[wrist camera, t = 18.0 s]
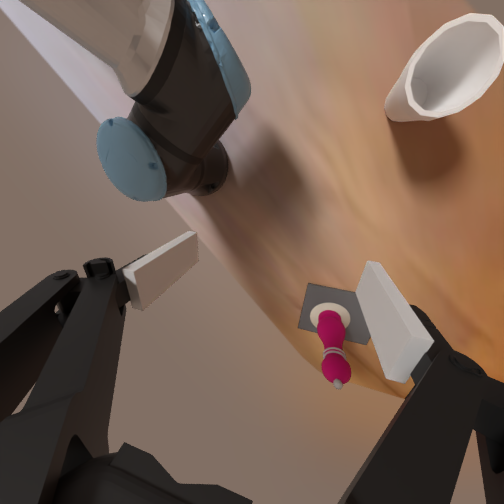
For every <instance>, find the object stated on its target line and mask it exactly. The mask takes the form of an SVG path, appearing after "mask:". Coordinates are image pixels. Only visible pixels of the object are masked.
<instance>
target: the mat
mask: <svg viewBox="0 0 504 504" xmlns="http://www.w3.org/2000/svg"><path fill="white" fill-rule="evenodd" d="M325 310H332V311H335V312H337V313H338V314H339V315H340V316H341V320H342V323H343V324H344V326H345V331H346V335H345V339H344V340H347V341H351V342H355V343H359V344H363V345H367V343H368V340H369V338H370V336H371V335H370V332H369V329H368V327H367V324H366V321H365V318H364V315H363V312H362V310H361V307H360V304H359V301H358V298H357V295H356V293H355V292H351V291H346V290H341V289H336V288H331V287H326V286H321V285H316V284H311V283H308V286H307V291H306V295H305V299H304V303H303V308H302V312H301V316H300V321H299V325H298V328H299V329H303V330H307V331H311V332H315V333H318V332H317V324H318V323H319V322H318V316H319V314H320V313H321V312H323V311H325Z"/></svg>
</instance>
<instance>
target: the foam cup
mask: <svg viewBox="0 0 504 504" xmlns="http://www.w3.org/2000/svg"><path fill="white" fill-rule="evenodd" d="M503 62H504V26H503V25H502V24H501V23H500V22H499V21H498V20H497V19H496V18H495V17H494V16H493V15H488V14H475V13H469V14H467V15H464V16H462V17H459V18H457V19H455V20H452V21H450V22H447V23H445V24H444V25H443V26H442V27H441V28H439V29H438V30H437V31H436V32H435V33H434V34H433V35H432V36H430V37H429V38H428V39H427V40H426V41H425V42H424V43H423V44H422V45H421V46H420V47H419V48H418V49H417V50H416V51H415V52H414V54H413V55H412V57H411V58H410V60H409V62H408V63H407V65H406V67H405V68H404V70H403V71H402V74H401V76H400V77H399V79H398V80H397V82H396V83H395V85H394V86H393V88H392V89H391V91H390V93H389V94H388V96H387V98H386V101H385V106H384V109H385V113H386V116H387V117H388V118H389V119H391V120H392V121H397V122H407V121H418V120H423V121H431V120H434V119H438V118H441V117H445V116H448V115H451V114H454V113H457V112H460V111H461V110H463V109H464V108H465V107H467V106H468V105H470V104H471V103H473V102H474V101H476V100H477V99H479V98H480V97H481V96H482V95H483V94H484V92H485V91H486V90H487V89H488V88H489V86H490V85H491V84H492V83H493V81H494V80H495V79H496V78H497V77H498V75H499V73H500V70H501V67H502V65H503Z"/></svg>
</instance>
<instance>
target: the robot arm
mask: <svg viewBox="0 0 504 504" xmlns="http://www.w3.org/2000/svg"><path fill="white" fill-rule="evenodd" d="M19 1H20V2H22V3H23V4H24V5H26V6H27V7H29V8H30V9H31V10H33V11H34V12H35V13H37V14H38V15H40V16H41V17H42V18H44V19H45V20H46V21H48V22H49V23H51V24H52V25H53V26H55V27H56V28H57V29H59V30H60V31H62V32H63V33H64V34H66V35H67V36H68V37H70V38H71V39H73V40H74V41H75V42H77V43H78V44H80V45H81V46H82V47H84V48H85V49H86V50H88V51H89V52H91V53H92V54H93V55H95V56H96V57H97V58H99V59H100V60H102V61H103V62H104V63H106V64H107V65H108V66H110V67H111V68H112V69H113V70H114V72H115V73H116V75H117V78H118V80H119V82H120V84H121V86H122V89H123V91H124V93H125V94H126V95H128V96H129V97H130V98H132V99H133V100H135V103H134V106H133V108H132V110H131V112H130V114H129V116H128V118H127V119H126V118H123V117H115V118H113V119H107V120H106V121H104V122H103V123H102V124H101V126H100V128H99V130H98V133H97V151H98V155H99V159H100V161H101V163H102V166H103V169H104V171H105V173H106V175H107V176H108V178H109V179H110V181H111V182H112V183H113V185H114V186H115V187H116V188H117V189H118V190H119V191H120V192H122V193H123V194H124V195H126V196H127V197H129V198H131V199H133V200H137V201H143V202H145V201H157V200H160V199H162V198H166V197H170V196H174V195H178V194H182V193H189V194H192V195H197V196H204V195H208V194H211V193H213V192H215V191H217V190H218V189H219V188H220V187H221V186H222V184H223V183H224V181H225V179H226V176H227V171H228V160H227V155H226V152H225V149H224V147H223V145H222V144H221V142H220V141H219V139H220V138H221V136H222V135H223V134H224V132H225V131H226V130H227V128H228V127H229V126H230V124H231V123H232V122H233V120H234V119H235V120H236V119H237V118H238V114H239V113H240V111H241V110H242V108H243V107H244V105H245V104H246V103H247V101H248V100H249V97H250V95H251V84H250V80H249V77H248V75H247V73H246V71H245V69H244V67H243V65H242V63H241V61H240V59H239V57H238V56H237V54H236V52H235V50H234V48H233V47H232V45H231V43H230V41H229V40H228V38H227V36H226V35H225V33H224V31H223V30H222V28H221V27H220V26H219V25H218V22H217V21H216V19H215V18H214V16H213V14H212V12H211V10H210V9H209V7H208V6H207V4H206V3H205V1H204V0H19ZM198 257H199V256H198V241H197V232H192V231H188V232H186V233H184V234H183V235H181V236H179V237H177V238H175V239H174V240H172V241H170V242H168V243H167V244H165V245H163V246H162V247H160V248H158V249H156V250H154V251H153V252H151V253H149V254H146V255H143V256H141V257H140V258H138V259H137V260H134V261H133V262H132V263H129V264H127V265H125V266H124V267H122V268H120V269H118V270H116V271H115V267H114V264H113V260H112V259H110V258H97V259H93V260H90V261H88V262H86V263H85V264H84V265H83V267H84V270H85V272H86V275H87V278H79V276H78V274H77V271H75V270H61V271H57V272H56V273H53V274H51V275H49V276H47V277H46V278H45V279H44V280H42V281H41V282H39V283H38V284H37V285H35V286H34V287H33V288H32V289H30V290H29V291H27V292H26V293H25V294H24V295H22V296H21V297H20V298H18V299H17V300H16V301H14V302H13V303H12V304H10V305H9V306H8V307H6V308H5V309H4V310H2V311H1V312H0V504H252V502H253V501H252V500H249V499H247V498H245V497H243V496H241V495H239V494H237V493H234V492H232V491H230V490H227V489H226V488H223V487H221V486H219V485H208V484H207V485H206V484H180V483H177V482H176V481H175V480H174V479H173V478H172V477H171V476H170V474H169V473H168V472H167V471H166V470H165V469H164V468H163V467H162V465H161V464H160V463H159V462H158V461H157V460H156V459H155V458H154V456H153V455H151V454H149V453H147V452H145V451H142V450H140V449H138V448H136V447H134V446H131V445H129V444H127V443H125V442H124V444H123V445H122V446H121V448H120V449H119V451H118V452H116V453H109V447H108V437H107V436H108V426H109V419H110V413H111V406H112V400H113V393H114V387H115V380H116V374H117V367H118V360H119V354H120V346H121V341H122V334H123V327H124V321H125V315H126V306H125V304H126V303H127V302H128V301H131V305H132V308H134V309H138V310H141V311H144V309H145V308H147V307H148V306H149V305H150V304H151V303H152V302H153V301H155V300H156V299H157V298H158V297H159V296H160V295H161V294H163V293H164V292H165V291H166V290H167V289H168V288H169V287H170V286H172V285H173V284H174V283H175V282H176V281H177V280H178V279H179V278H180V277H181V276H183V275H184V274H185V273H186V272H187V271H188V270H189V269H190V268H192V267H193V266H194V265H195V264H196V263H197V262H198V261H199V258H198ZM355 293H356V295H357V298H358V301H359V304H360V307H361V310H362V312H363V315H364V318H365V321H366V324H367V327H368V329H369V332H370V335H371V338H372V341H373V343H374V346H375V349H376V352H377V355H378V358H379V360H380V363H381V366H382V369H383V372H384V375H385V377H386V379H389V380H393V381H397V382H400V383H404V384H405V383H406V381H407V380H408V378H409V377H410V376H411V377H412V379H413V381H414V383H415V386H414V387H413V388H412V390H411V391H410V392H409V394H408V395H407V397H406V398H405V401H404V402H403V404H402V405H401V407H400V408H399V410H398V411H397V413H396V415H395V416H394V418H393V419H392V421H391V422H390V424H389V425H388V427H387V428H386V430H385V431H384V433H383V434H382V436H381V437H380V439H379V441H378V442H377V444H376V445H375V447H374V448H373V450H372V451H371V453H370V454H369V456H368V458H367V459H366V461H365V462H364V464H363V465H362V467H361V468H360V470H359V471H358V473H357V475H356V476H355V478H354V479H353V481H352V482H351V484H350V485H349V487H348V488H347V490H346V491H345V493H344V494H343V496H342V497H341V499H340V501H339V502H338V504H450V502H451V498H452V495H453V492H454V489H455V485H456V482H457V479H458V476H459V472H460V469H461V465H462V462H463V459H464V456H465V452H466V449H467V446H468V443H469V439H470V436H471V433H472V429H474V430H475V431H476V437H477V443H478V450H479V457H480V464H481V470H482V477H483V484H484V490H485V497H486V504H504V383H502V382H500V381H497V380H495V379H493V378H491V377H488V376H487V374H486V373H485V371H484V370H483V369H482V368H481V367H480V366H479V365H478V364H477V363H476V362H475V361H473V360H472V359H470V358H469V357H467V356H466V355H464V354H461V353H459V352H457V351H454V350H453V349H452V347H451V346H450V345H449V344H448V342H447V341H446V340H445V338H444V337H443V336H442V334H441V333H440V332H439V330H438V329H436V327H435V325H434V324H433V323H432V322H431V320H430V319H429V317H428V316H427V315H426V314H425V313H424V312H423V311H422V310H421V309H419V308H418V307H417V306H414V305H410V304H408V303H407V301H406V300H405V298H404V297H403V296H402V294H401V293H400V291H399V290H398V288H397V287H396V286H395V284H394V283H393V281H392V280H391V278H390V277H389V275H388V274H387V273H386V271H385V270H384V268H383V267H382V265H381V264H380V263H379V262H373V261H367V263H366V265H365V268H364V271H363V273H362V276H361V279H360V282H359V284H358V287H357V290H356V292H355ZM56 305H57V306H58V309H59V310H58V311H57V312H56V313H55V312H54V310H55V306H56ZM36 381H37V382H36ZM35 383H36V384H35ZM34 384H35V386H34V388H33V390H32V392H31V394H30V396H29V398H28V400H27V402H26V404H25V406H24V407H23V409H22V410H21V411H20V412H19V413H16V414H13V415H11V414H12V413H13V412H14V410H15V409H16V408H17V406H18V405H19V403H20V402H21V401H22V400H23V398H24V397H25V396H26V394H27V393H28V392H29V390H30V389H31V388H32V387H33V385H34Z"/></svg>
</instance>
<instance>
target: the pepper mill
mask: <svg viewBox="0 0 504 504" xmlns="http://www.w3.org/2000/svg"><path fill="white" fill-rule="evenodd" d="M318 322H319V323H318V324H317V332H318V335H319V337H320V339H321V340H322V342H323V344H324V348H325V350H324V352H323V359H324V360H323V361H322V372H323V374H324V376H325V378H326V379H327V380H329V381H330V382H332V383H333V385H334V387H335V388H336V389H341V388H342V386H343V384H345V383H347V382H348V381H349V380H350V377H351V368H350V365H349V363H348V362H347V359H346V354H345V353H344V351H343V349H342V344H343V341H344V339H345V335H346V331H345V326H344V324H343V323H342V320H341V316H340V315H339V314H338V313H337V312H335V311H332V310H325V311H323V312H321V313H320V314H319V316H318Z"/></svg>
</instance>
